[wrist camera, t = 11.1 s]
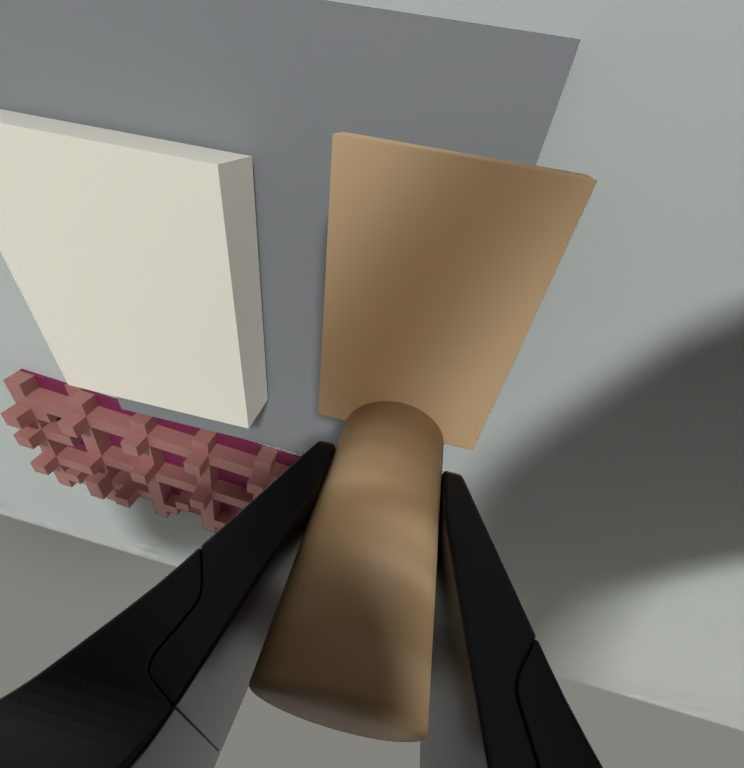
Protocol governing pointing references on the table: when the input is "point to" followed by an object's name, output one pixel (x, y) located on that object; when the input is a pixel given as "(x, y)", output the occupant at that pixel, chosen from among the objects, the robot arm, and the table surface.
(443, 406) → the turner
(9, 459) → the table surface
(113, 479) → the red lattice rack
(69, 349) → the tile
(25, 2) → the mat
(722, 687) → the table surface
